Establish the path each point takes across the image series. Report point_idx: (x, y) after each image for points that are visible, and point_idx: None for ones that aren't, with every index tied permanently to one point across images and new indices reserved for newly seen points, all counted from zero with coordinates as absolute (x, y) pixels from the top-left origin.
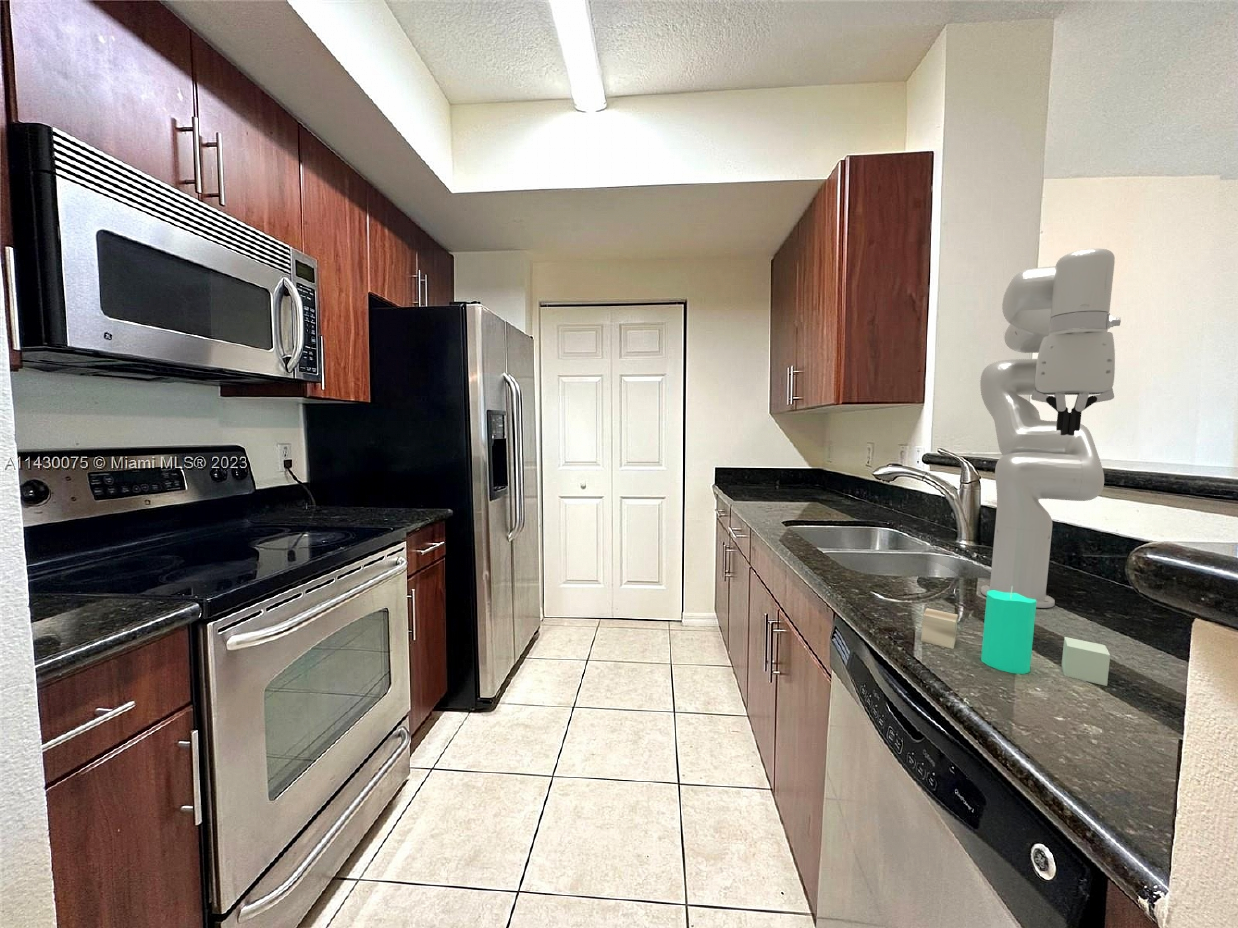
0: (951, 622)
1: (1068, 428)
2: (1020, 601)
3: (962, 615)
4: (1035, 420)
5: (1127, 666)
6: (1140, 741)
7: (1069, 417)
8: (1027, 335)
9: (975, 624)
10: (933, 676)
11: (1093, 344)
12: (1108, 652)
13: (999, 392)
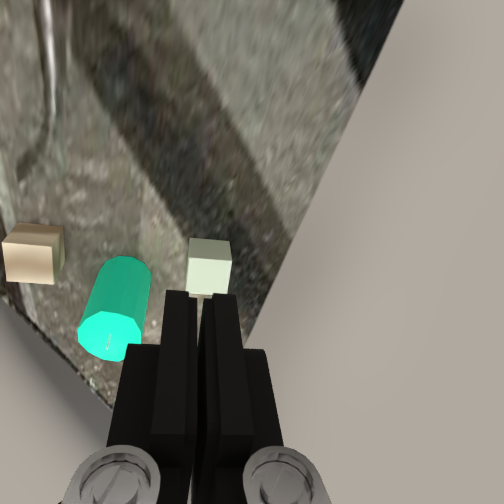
0: (48, 283)
1: (197, 375)
2: (120, 359)
3: (55, 66)
4: None
5: (270, 190)
6: None
7: (198, 445)
8: None
9: (83, 117)
10: (58, 353)
11: None
12: (227, 287)
13: None
